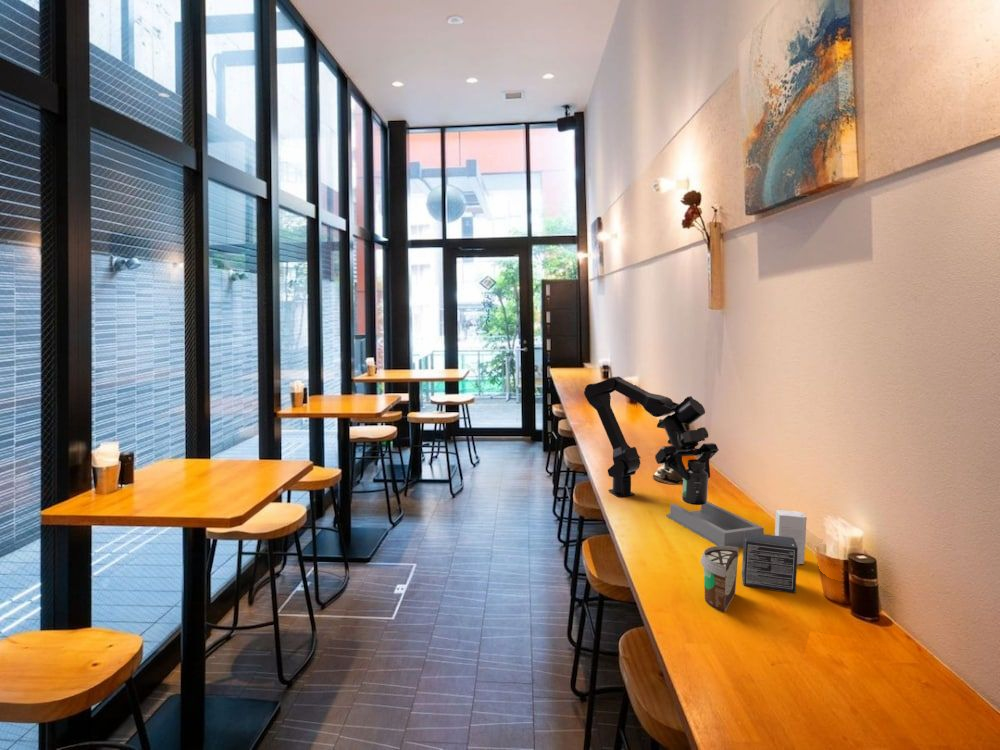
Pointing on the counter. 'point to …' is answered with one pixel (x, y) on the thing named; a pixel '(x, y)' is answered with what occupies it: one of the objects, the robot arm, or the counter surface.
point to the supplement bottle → (695, 483)
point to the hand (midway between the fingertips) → (698, 478)
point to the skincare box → (792, 529)
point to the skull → (667, 475)
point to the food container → (720, 575)
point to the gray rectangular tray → (715, 524)
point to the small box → (769, 562)
